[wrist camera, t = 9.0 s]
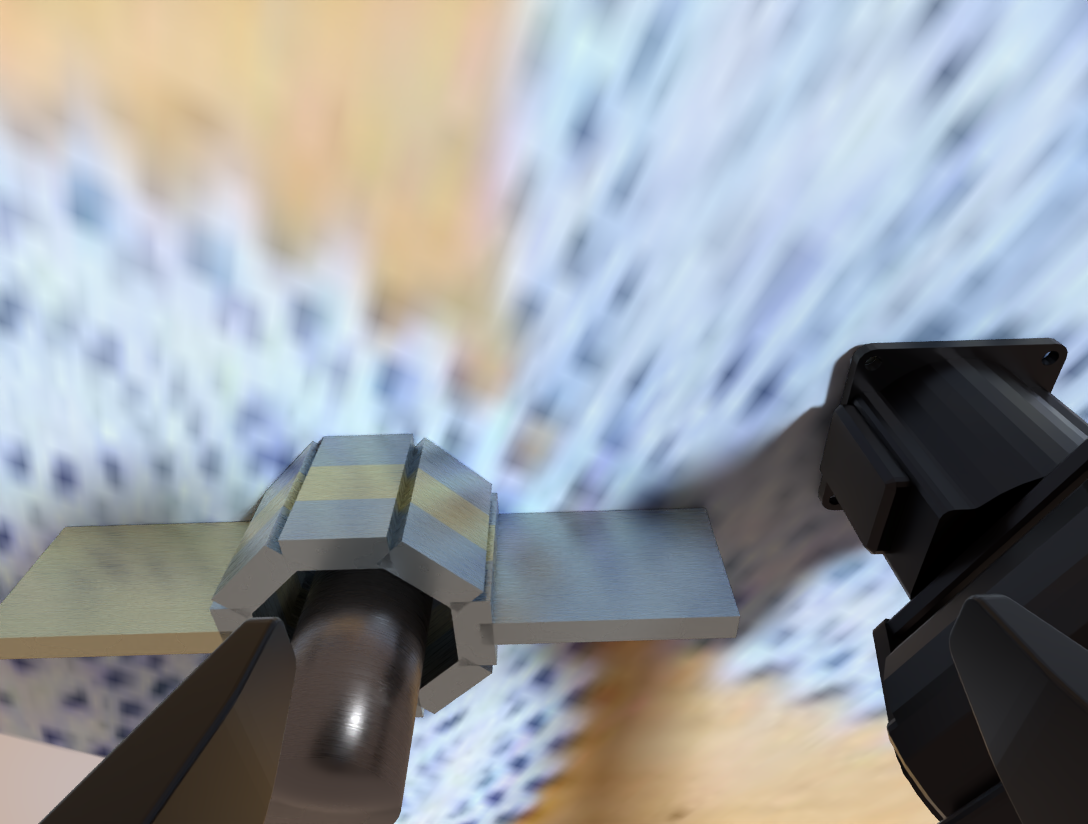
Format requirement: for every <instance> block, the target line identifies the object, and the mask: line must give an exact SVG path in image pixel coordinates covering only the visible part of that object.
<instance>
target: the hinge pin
mask: <svg viewBox="0 0 1088 824" xmlns="http://www.w3.org/2000/svg"><path fill="white" fill-rule="evenodd" d="M432 605H433V597H431V596H429V595H428V594H426V593H424V592H423V591H421V590H419V589H418V588H416V587H414V586H413V585H411V584H409V583H408V582H406V581H404V580H402V579H401V578H399V577H397V576H396V575H394V574H392V573H391V572H389V571H387V570H386V569H384V568H376V569H342V570H316V572H315V575H314V578H313V581H312V584H311V586H310V589H309V592H308V595H307V598H306V600H305V603H304V606H303V609H302V612H301V615H300V617H299V620H298V623H297V626H296V629H295V631H294V634H293V637H292V640H291V645H292V648H293V651H294V654H295V657H296V674H295V680H294V685H293V690H292V696H291V701H290V706H289V711H288V717H287V722H286V727H285V732H284V738H283V743H282V748H281V753H280V759H279V764H278V769H277V774H276V779H275V783H274V788H273V792H272V796H271V800H270V803H269V807H268V811H267V814H266V817H265V820H264V824H394V823H395V822H396V820H397V819H398V817H399V815H400V812H401V806H402V800H403V793H404V787H405V780H406V774H407V767H408V761H409V754H410V748H411V741H412V735H413V728H414V722H415V715H416V709H417V702H418V696H419V689H420V683H421V676H422V670H423V663H424V657H425V650H426V644H427V637H428V631H429V624H430V618H431V611H432Z"/></svg>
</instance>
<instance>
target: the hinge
mask: <svg viewBox="0 0 1088 824" xmlns="http://www.w3.org/2000/svg"><path fill="white" fill-rule="evenodd" d="M491 488H492V484H490V483H489V482H488V481H486V480H485V479H483V478H482V477H480V476H479V475H478V474H476V473H475V472H473V471H472V470H470V469H469V468H468V467H466V466H465V465H463V464H462V463H460V462H459V461H458V460H456V459H455V458H453V457H452V456H451V455H449V454H448V453H446V452H445V451H443V450H442V449H441V448H439V447H438V446H436V445H435V444H433V443H432V442H431V441H429V440H428V439H426V438H424V439H423V440H422V441H421V442H420V443H419V444H418V445H417V446H416V447H415V446H414V440H413V434H395V435H361V436H328V437H324V438H323V440H322V442H321V445H318V444H317V443H315V442H314V441H313V442H312V443H311V444H310V445H309V446H308V447H307V448H306V449H305V450H304V451H303V452H302V453H301V454H300V456H299V457H298V458H297V459H296V460H295V461H294V462H293V463H292V464H291V465H290V466H289V467H288V468H287V469H286V470H285V472H284V473H283V474H282V475H281V476H280V477H279V478H278V479H277V480H276V481H275V482H274V483H273V484H272V485H271V487H270V488H269V489H268V490H267V491H266V493H265V494H264V496H263V498H262V500H261V502H260V504H259V506H258V508H257V510H256V512H255V514H254V516H253V518H252V520H251V522H219V523H186V524H152V525H119V526H85V527H65V528H64V529H63V530H62V531H61V533H60V534H59V535H58V536H57V537H56V539H55V540H54V541H53V542H52V543H51V545H50V546H49V547H48V548H47V549H46V550H45V552H44V553H43V554H42V555H41V556H40V558H39V559H38V560H37V561H36V562H35V564H34V565H33V566H32V567H31V568H30V570H29V571H28V572H27V573H26V574H25V576H24V577H23V578H22V579H21V580H20V582H19V583H18V584H17V585H16V586H15V588H14V589H13V590H12V591H11V592H10V594H9V595H8V596H7V597H6V598H5V599H4V601H3V602H2V603H1V604H0V659H29V658H63V657H97V656H131V655H165V654H198V653H212V652H213V651H214V650H215V649H216V648H217V647H218V646H219V645H220V644H221V643H223V642H224V641H225V640H226V639H227V638H228V637H229V636H230V635H231V634H232V633H233V632H234V631H235V630H236V629H237V628H238V627H239V626H240V625H241V624H242V623H243V622H244V621H246V620H247V619H250V618H254V617H278V618H280V619H281V620H282V621H283V623H284V625H285V628H286V631H287V634H288V637H289V639H290V642H291V640H292V637H293V634H294V631H295V629H296V626H297V623H298V620H299V617H300V615H301V612H302V609H303V606H304V603H305V600H306V598H307V595H308V592H309V589H310V586H311V584H312V581H313V578H314V575H315V572H316V570H342V569H376V568H384V569H386V570H387V571H389V572H391V573H392V574H394V575H396V576H397V577H399V578H401V579H402V580H404V581H406V582H408V583H409V584H411V585H413V586H414V587H416V588H418V589H419V590H421V591H423V592H424V593H426V594H428V595H429V596H431V597H433V605H432V611H431V618H430V624H429V631H428V637H427V644H426V650H425V657H424V663H423V670H422V676H421V683H420V689H419V696H418V702H417V709H416V715H415V717H423V715H424V709H426V710H428V711H430V712H432V713H434V714H435V713H436V712H438V711H439V710H441V709H442V708H443V707H445V706H446V705H448V704H449V703H450V702H452V701H453V700H455V699H456V698H458V697H459V696H460V695H462V694H463V693H465V692H466V691H467V690H469V689H470V688H472V687H473V686H475V685H476V684H477V683H479V682H480V681H482V680H483V679H484V678H486V677H487V676H489V675H490V674H492V667H493V665H497V646H498V645H503V644H536V643H570V642H604V641H638V640H672V639H705V638H736V634H737V629H738V624H739V619H740V614H739V611H738V608H737V605H736V602H735V599H734V596H733V593H732V590H731V587H730V583H729V580H728V577H727V574H726V571H725V568H724V565H723V562H722V559H721V556H720V552H719V549H718V546H717V543H716V540H715V537H714V534H713V531H712V528H711V525H710V521H709V518H708V515H707V512H706V509H705V508H690V509H656V510H622V511H589V512H555V513H522V514H499V509H498V497H497V493H491Z"/></svg>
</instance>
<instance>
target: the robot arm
mask: <svg viewBox="0 0 1088 824" xmlns="http://www.w3.org/2000/svg"><path fill="white" fill-rule="evenodd" d="M1048 352H1050V353H1049V355H1048V356H1046V357H1045V358H1043V356H1044V355H1045V354H1046V353H1048ZM1067 353H1068V352H1067V349H1066V347H1065V346H1063V345H1062V344H1060V343H1059V342H1058V341H1056V340H1055V339H1052V338H1029V339H996V340H963V341H929V342H896V343H870V344H865V345H863V346H862V347H860V348H859V349H858V350H857V351H856V352H855V353H854V355H853V357H852V360H851V364H850V368H849V372H848V376H847V380H846V384H845V388H844V392H843V396H842V400H841V404H840V405H839V406H838V407H837V408H836V410H835V411H834V412H833V416H832V420H831V424H830V429H829V433H828V437H827V441H826V445H825V449H824V453H823V457H822V461H821V465H820V471H821V473H822V474H823V476H822V480H821V484H820V488H819V492H818V497H819V499H820V501H821V503H822V504H823V506H824V507H825V508H827V509H828V510H843V511H844V512H845V514H846V516H847V518H848V519H849V521H850V523H851V525H852V526H853V528H854V530H855V532H856V533H857V535H858V537H859V538H860V540H861V542H862V544H863V545H864V547H865V548H866V549H867V550H868V551H869V552H870V553H871V554H883V555H884V557H885V559H886V560H887V562H888V564H889V565H890V567H891V569H892V570H893V572H894V574H895V575H896V577H897V579H898V580H899V582H900V584H901V585H902V587H903V589H904V590H905V592H906V594H907V595H908V597H909V599H910V600H911V601H910V602H909V603H907V604H906V605H905V606H904V607H903V608H902V609H901V610H900V611H899V612H898V613H897V614H896V615H894V616H893V617H892V618H891V619H885V620H884V621H882V622H881V623H880V624H879V625H878V626H877V627H876V628H875V629H874V630H873V637H874V643H875V649H876V654H877V660H878V666H879V671H880V677H881V682H882V688H883V694H884V699H885V705H886V711H887V716H888V722H889V723H888V724H887V731H888V736H889V740H890V742H891V744H892V745H893V747H894V750H895V753H896V757H897V759H898V761H899V763H900V765H901V769H902V771H903V774H904V775H905V777H906V778H907V779H908V781H909V782H910V784H911V785H912V787H913V789H914V790H915V792H916V793H917V795H918V796H919V797H920V799H921V800H922V801H923V802H924V804H925V805H926V806H927V808H928V809H929V810H930V811H931V813H932V814H933V815H934V816H935V817H936V818H937V819H938V820H939V821H940V822H939V823H937V824H1088V423H1086V422H1085V421H1084V420H1083V419H1082V418H1080V417H1079V416H1078V415H1077V414H1075V413H1074V412H1073V411H1072V410H1071V409H1069V408H1068V407H1067V406H1066V405H1064V404H1063V403H1062V402H1061V401H1060V400H1058V399H1057V398H1056V397H1055V396H1053V395H1052V394H1051V391H1052V389H1053V387H1054V384H1055V382H1056V380H1057V378H1058V375H1059V373H1060V371H1061V369H1062V367H1063V364H1064V362H1065V360H1066V357H1067ZM874 356H876V358H875V360H874V361H873V362H872V363H870V364H865V363H866V361H867V360H868V359H869V358H870V357H874ZM1042 358H1043V359H1042ZM833 495H835V497H832V498H830V497H831V496H833ZM295 674H296V657H295V654H294V651H293V648H292V645H291V642H290V639H289V637H288V634H287V631H286V628H285V625H284V623H283V621H282V620H281V619H280V618H278V617H254V618H250V619H247V620H246V621H244V622H243V623H242V624H241V625H240V626H239V627H238V628H237V629H236V630H235V631H234V632H233V633H232V634H231V635H230V636H229V637H228V638H227V639H226V640H225V641H224V642H223V643H221V644H220V645H219V646H218V647H217V648H216V649H215V650H214V651H213V652H212V653H211V654H210V655H209V656H208V657H207V658H206V659H205V660H204V661H203V662H202V663H201V664H200V665H199V666H198V667H197V668H196V669H195V670H194V671H193V672H192V673H191V674H190V675H189V676H188V677H187V678H186V679H185V680H184V681H183V682H182V683H181V684H180V685H179V686H178V687H177V688H176V689H175V690H174V691H173V692H172V693H171V694H170V695H169V696H168V697H167V698H166V699H165V700H164V701H163V702H162V703H161V704H160V705H159V706H157V707H156V708H155V709H154V710H153V711H152V712H151V713H150V714H149V715H148V716H147V717H146V718H145V719H144V720H143V721H142V722H141V723H140V724H139V725H138V726H137V727H136V728H135V729H134V730H133V731H132V732H131V733H130V734H129V735H128V736H127V737H126V738H125V739H124V740H123V741H122V742H121V743H120V744H119V745H118V746H117V747H116V748H115V749H114V750H113V751H112V752H111V753H110V754H109V755H108V756H107V757H106V758H105V759H104V760H103V761H102V762H101V763H100V764H99V765H98V766H97V767H96V768H94V770H93V771H92V772H91V773H89V774H88V775H87V777H85V778H84V779H83V780H82V781H81V782H80V783H79V784H78V785H77V786H76V787H75V788H74V789H73V790H72V791H71V792H70V793H69V794H68V795H67V796H66V797H65V798H64V799H63V800H62V801H61V802H60V803H59V804H58V805H57V806H56V807H55V808H54V809H53V810H52V811H51V812H50V813H49V814H48V815H47V816H46V817H45V818H44V819H43V820H42V821H41V822H40V823H39V824H264V820H265V817H266V814H267V811H268V807H269V803H270V800H271V796H272V792H273V788H274V783H275V779H276V774H277V769H278V764H279V759H280V753H281V748H282V743H283V738H284V732H285V727H286V722H287V717H288V711H289V706H290V701H291V696H292V690H293V685H294V680H295Z"/></svg>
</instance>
